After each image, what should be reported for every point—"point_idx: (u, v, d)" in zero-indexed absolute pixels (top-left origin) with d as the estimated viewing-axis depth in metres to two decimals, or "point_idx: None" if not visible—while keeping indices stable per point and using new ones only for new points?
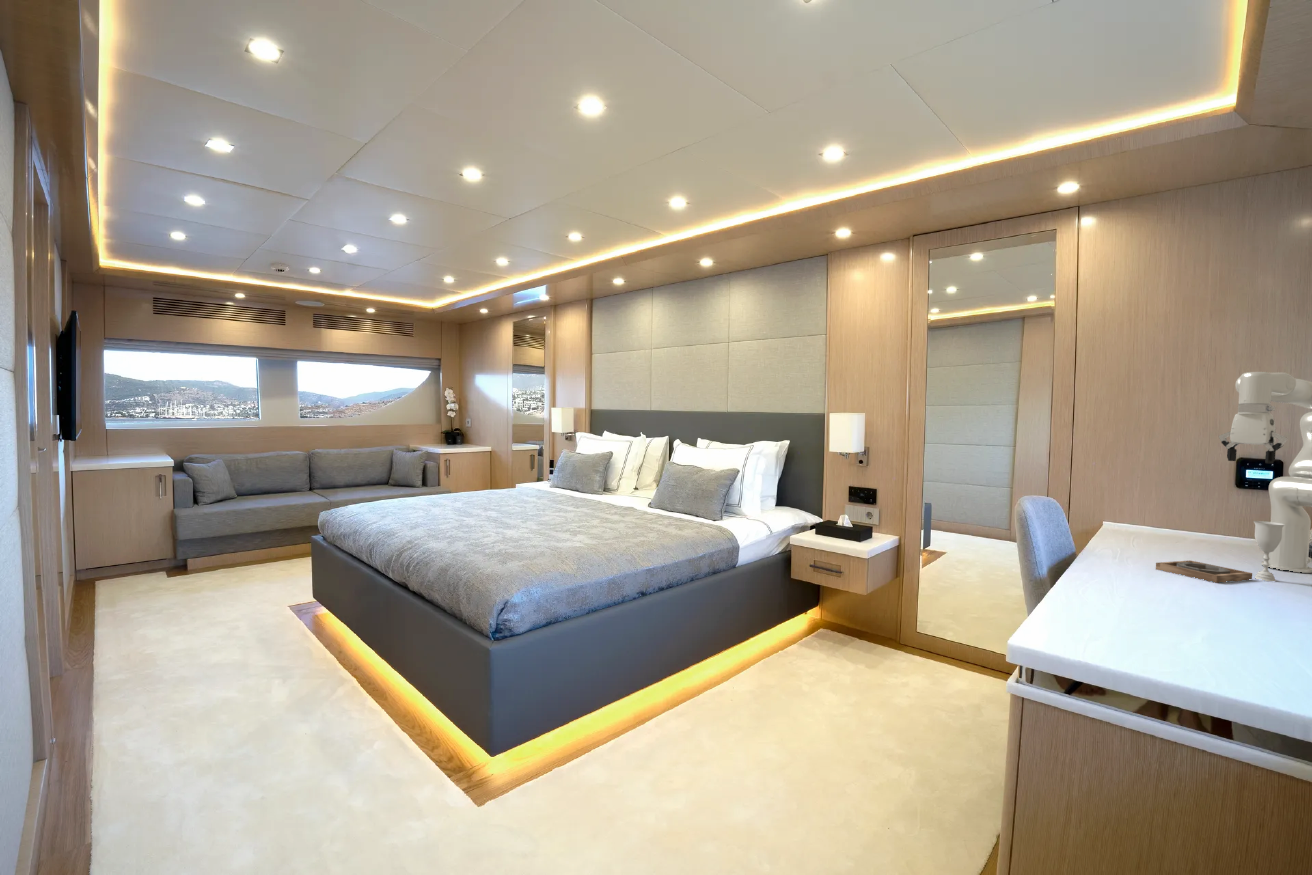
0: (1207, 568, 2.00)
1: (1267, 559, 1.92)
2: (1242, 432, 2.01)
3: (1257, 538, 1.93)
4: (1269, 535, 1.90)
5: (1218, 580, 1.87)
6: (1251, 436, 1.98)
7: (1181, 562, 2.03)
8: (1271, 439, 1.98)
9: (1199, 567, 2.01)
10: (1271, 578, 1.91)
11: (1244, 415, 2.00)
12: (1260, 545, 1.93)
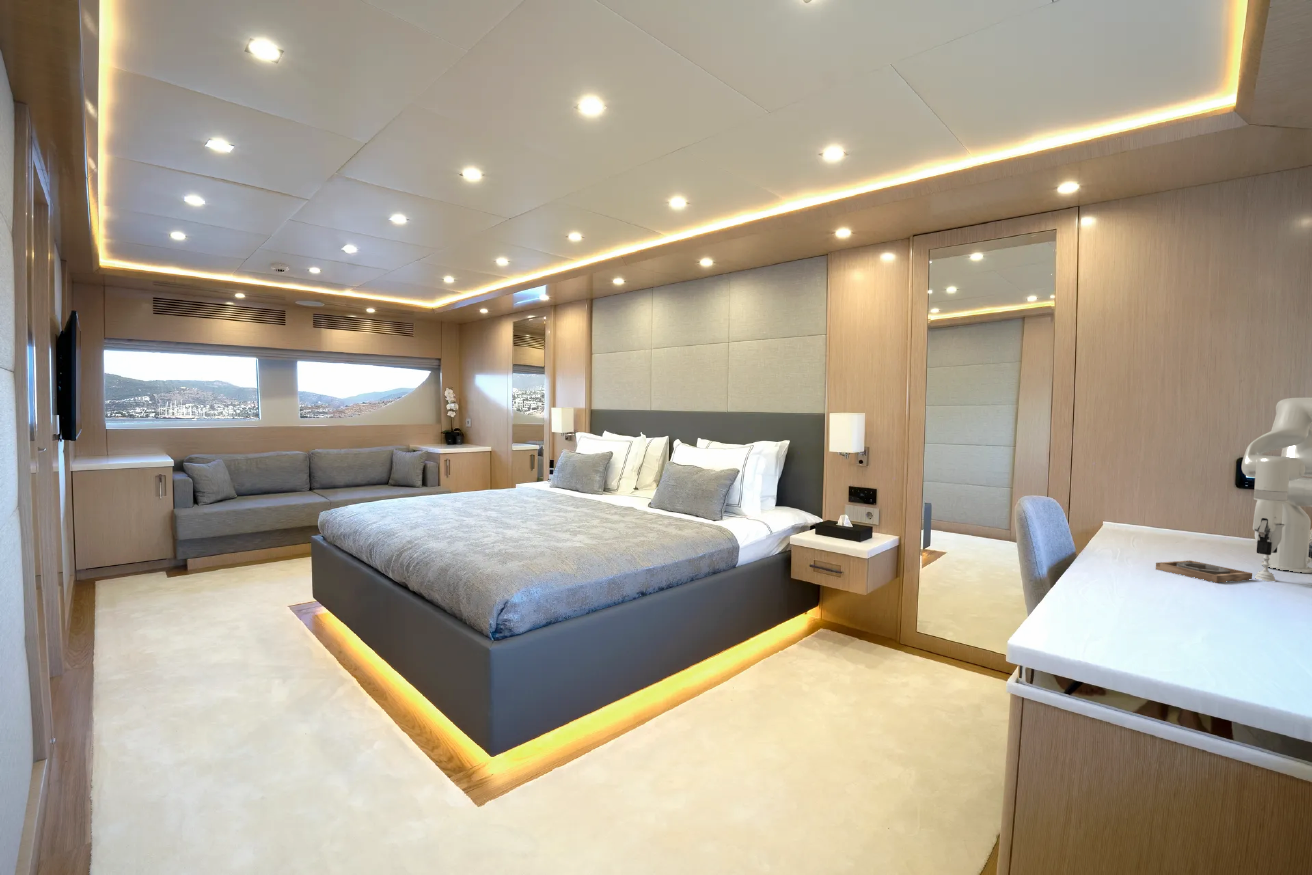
0: (1207, 568, 2.00)
1: (1267, 559, 1.92)
2: (1278, 521, 1.90)
3: (1257, 538, 1.93)
4: None
5: (1218, 580, 1.87)
6: (1279, 524, 1.91)
7: (1181, 562, 2.03)
8: None
9: (1199, 567, 2.01)
10: (1271, 578, 1.91)
11: (1280, 503, 1.89)
12: None
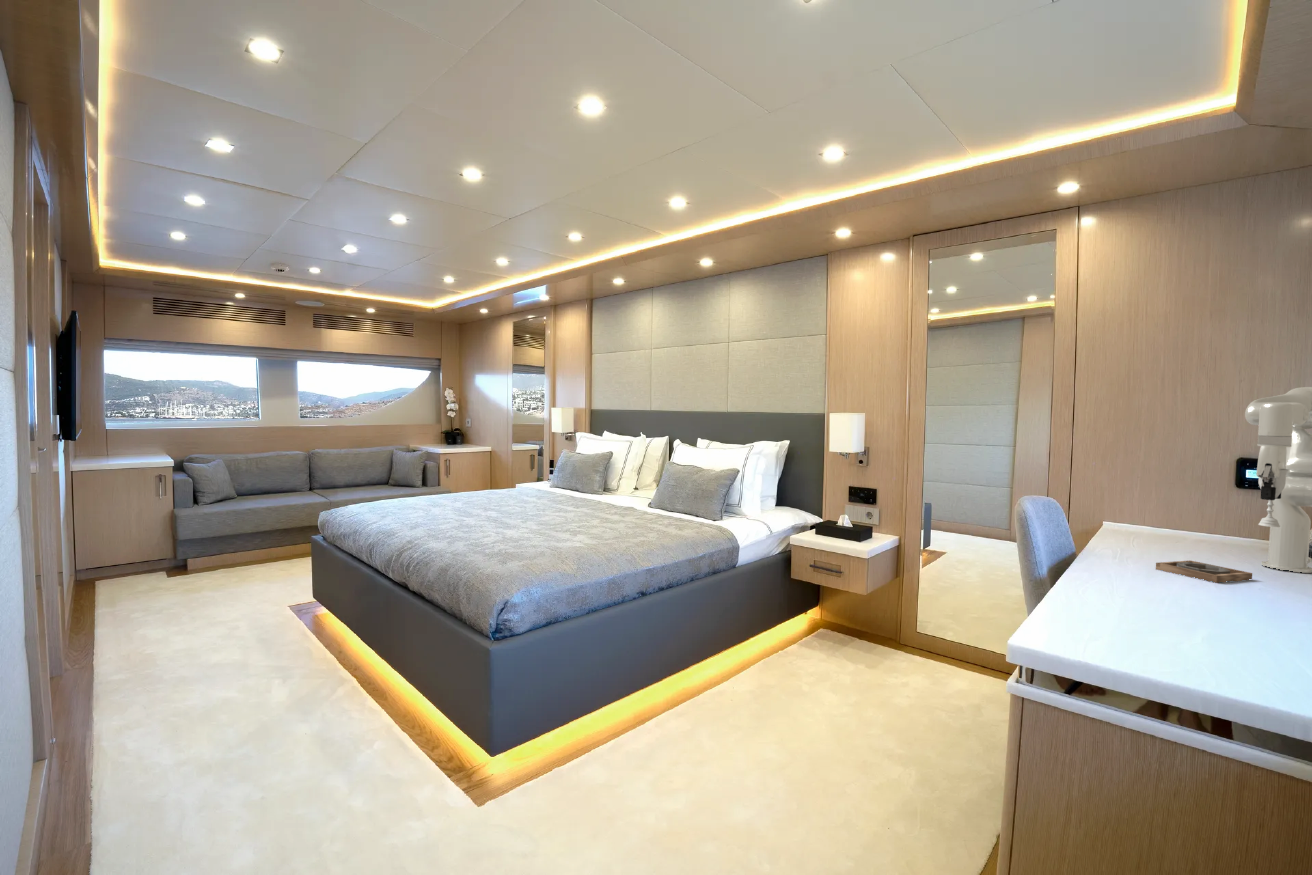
0: (1207, 568, 2.00)
1: (1271, 505, 1.92)
2: (1282, 467, 1.89)
3: (1261, 484, 1.93)
4: None
5: (1218, 580, 1.87)
6: (1282, 469, 1.91)
7: (1181, 562, 2.03)
8: None
9: (1199, 567, 2.01)
10: (1275, 524, 1.91)
11: (1284, 448, 1.89)
12: None
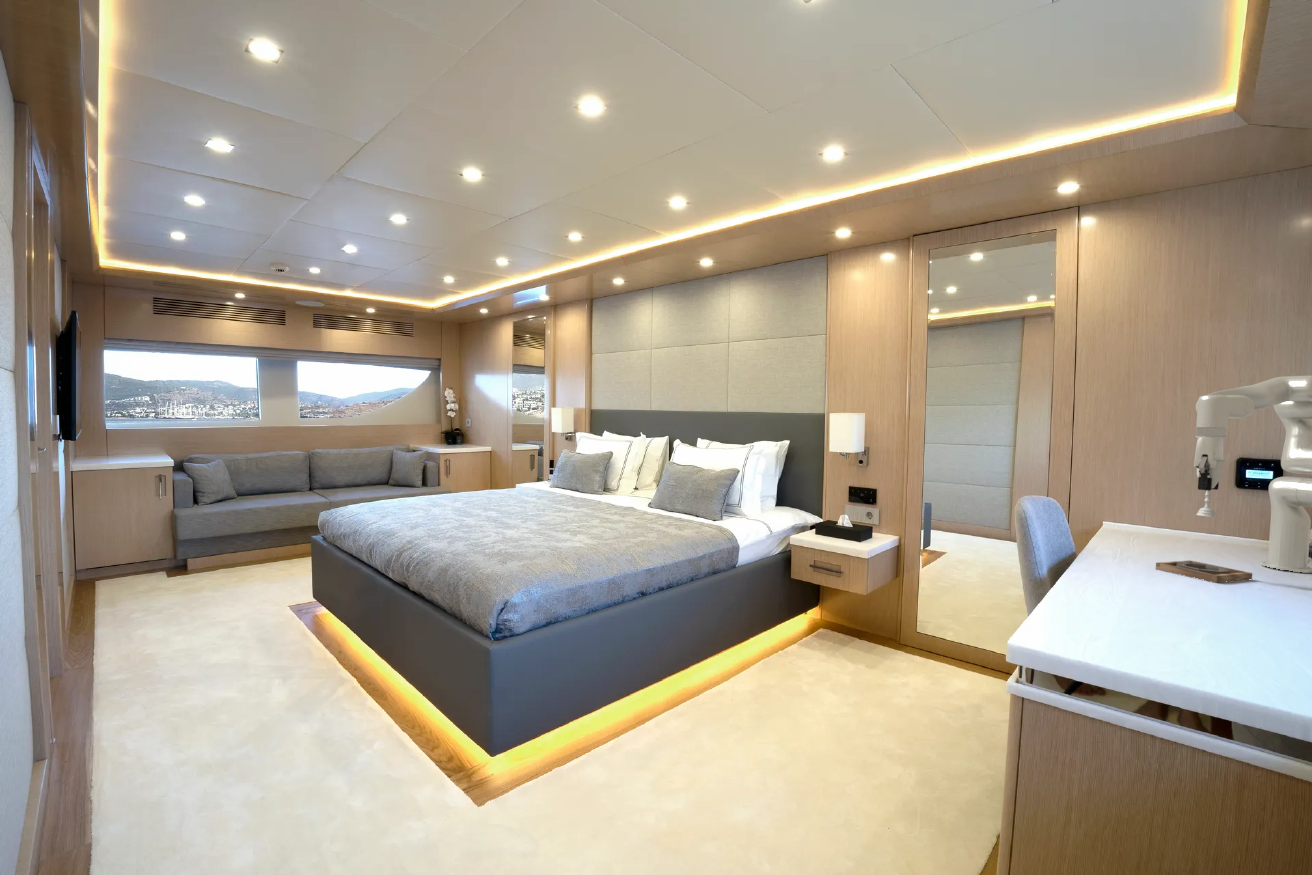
0: (1207, 568, 2.00)
1: (1208, 495, 1.96)
2: (1218, 458, 1.93)
3: None
4: None
5: (1218, 580, 1.87)
6: (1219, 460, 1.95)
7: (1181, 562, 2.03)
8: None
9: (1199, 567, 2.01)
10: (1211, 514, 1.94)
11: (1220, 439, 1.93)
12: None
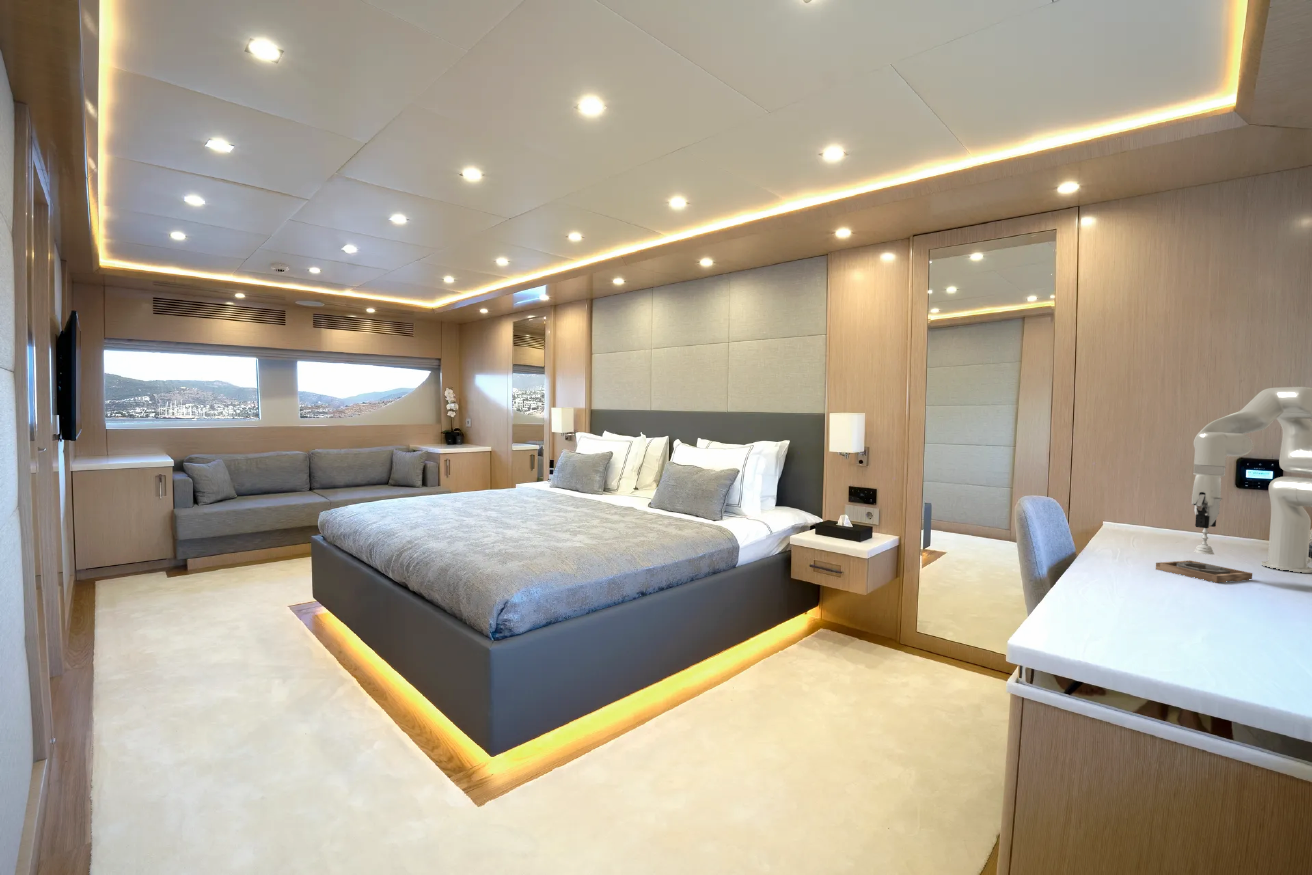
0: (1207, 568, 2.00)
1: (1206, 533, 1.96)
2: (1215, 495, 1.93)
3: None
4: None
5: (1218, 580, 1.87)
6: (1217, 498, 1.95)
7: (1181, 562, 2.03)
8: None
9: (1199, 567, 2.01)
10: (1209, 551, 1.95)
11: (1217, 477, 1.93)
12: None
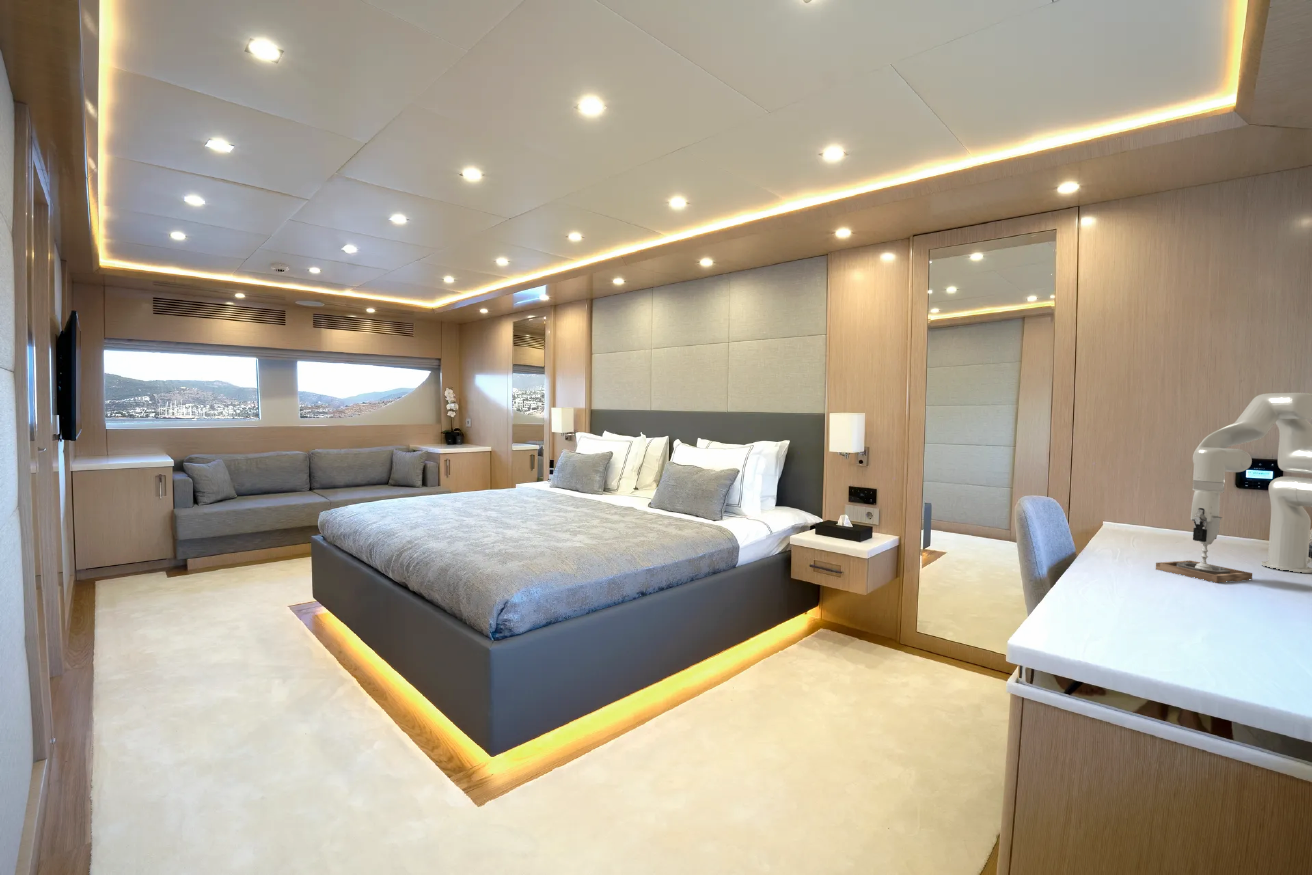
0: None
1: (1205, 551, 1.96)
2: (1214, 511, 1.94)
3: None
4: (1207, 528, 1.94)
5: (1218, 580, 1.87)
6: (1216, 514, 1.95)
7: (1181, 562, 2.03)
8: None
9: None
10: None
11: (1216, 493, 1.93)
12: None
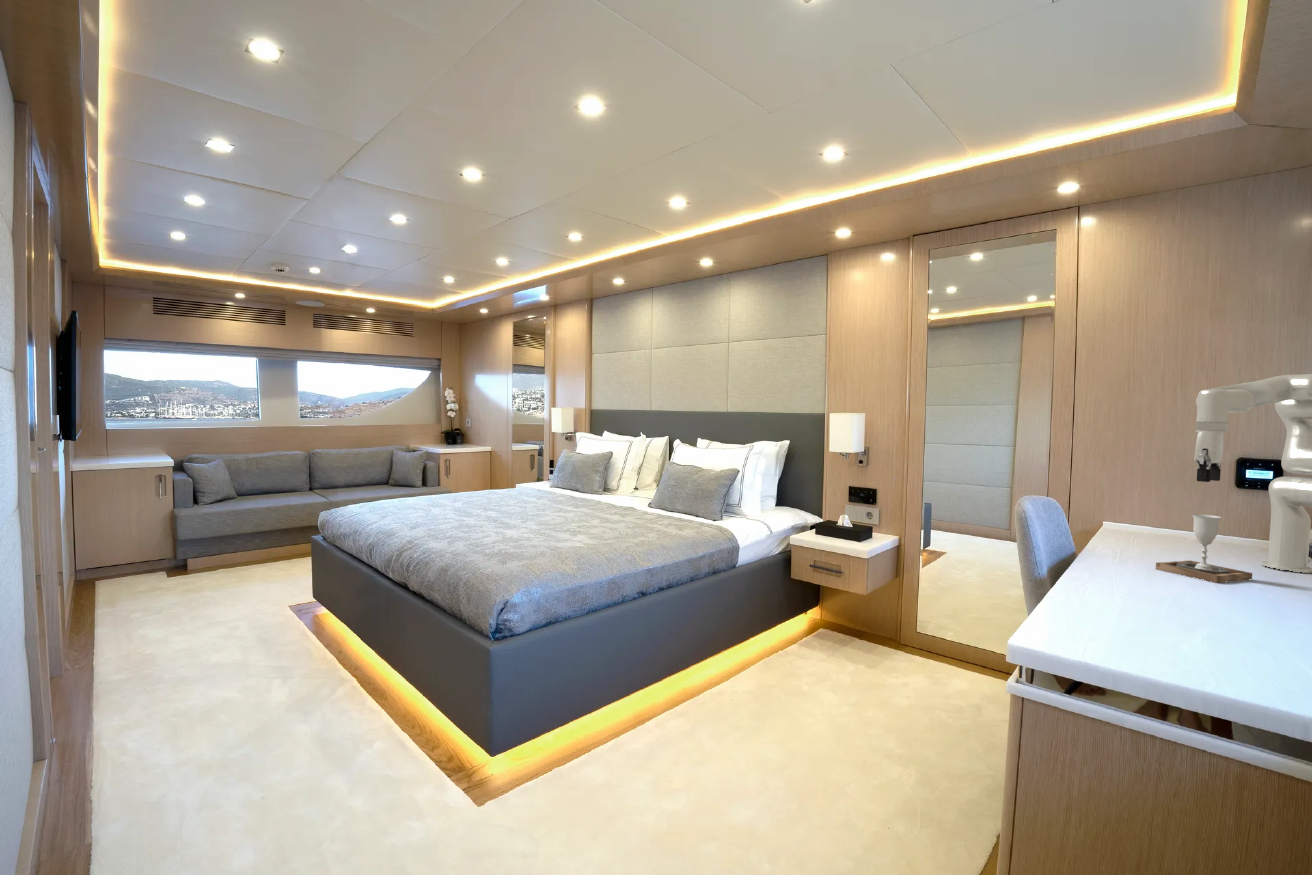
0: None
1: (1205, 551, 1.96)
2: (1218, 452, 1.94)
3: (1195, 531, 1.97)
4: (1206, 528, 1.94)
5: (1218, 580, 1.87)
6: (1219, 454, 1.95)
7: (1181, 562, 2.03)
8: None
9: None
10: None
11: (1220, 434, 1.93)
12: (1198, 538, 1.97)
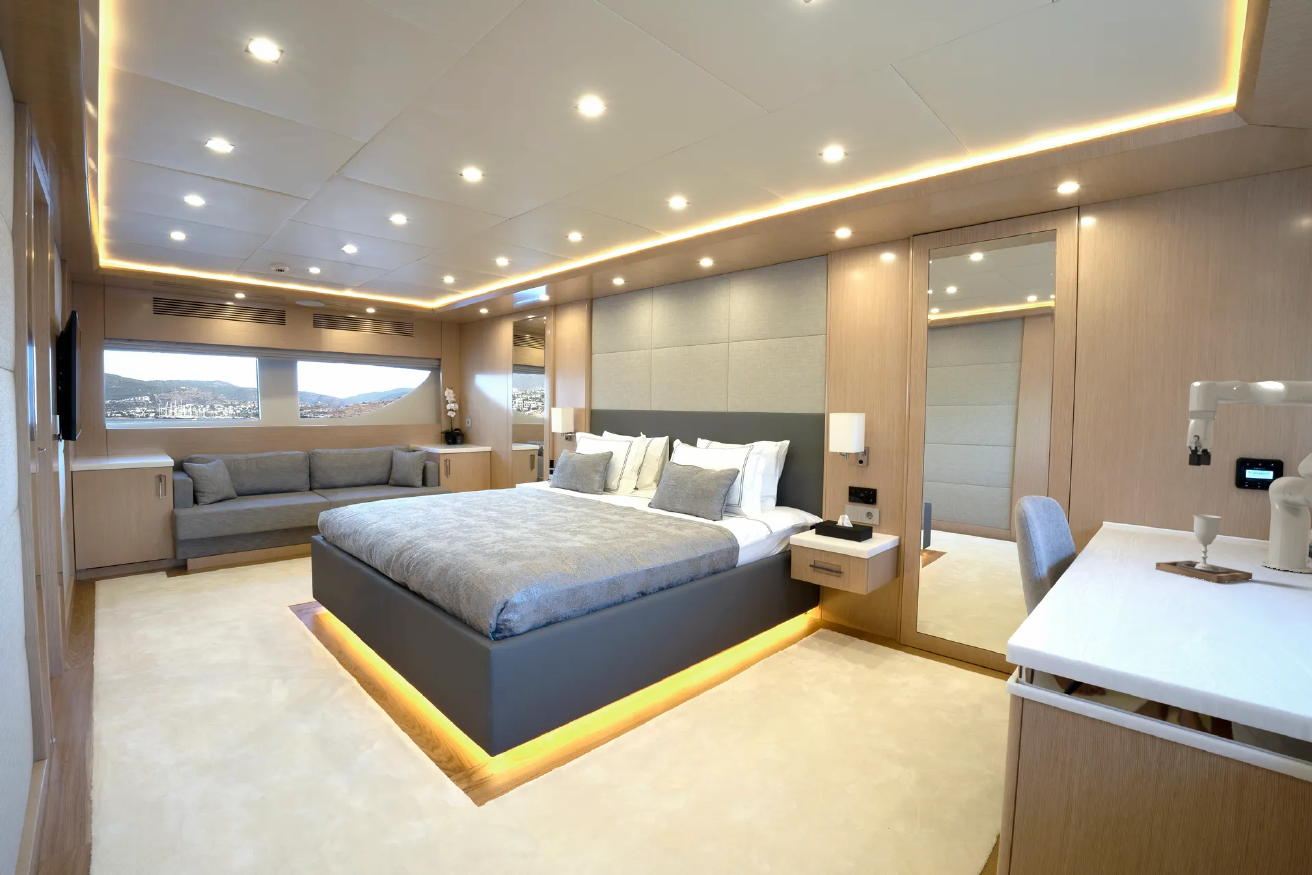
0: None
1: (1205, 551, 1.96)
2: (1208, 438, 2.11)
3: (1195, 531, 1.97)
4: (1206, 528, 1.94)
5: (1218, 580, 1.87)
6: (1209, 441, 2.12)
7: (1181, 562, 2.03)
8: None
9: None
10: None
11: (1210, 422, 2.11)
12: (1198, 538, 1.97)
